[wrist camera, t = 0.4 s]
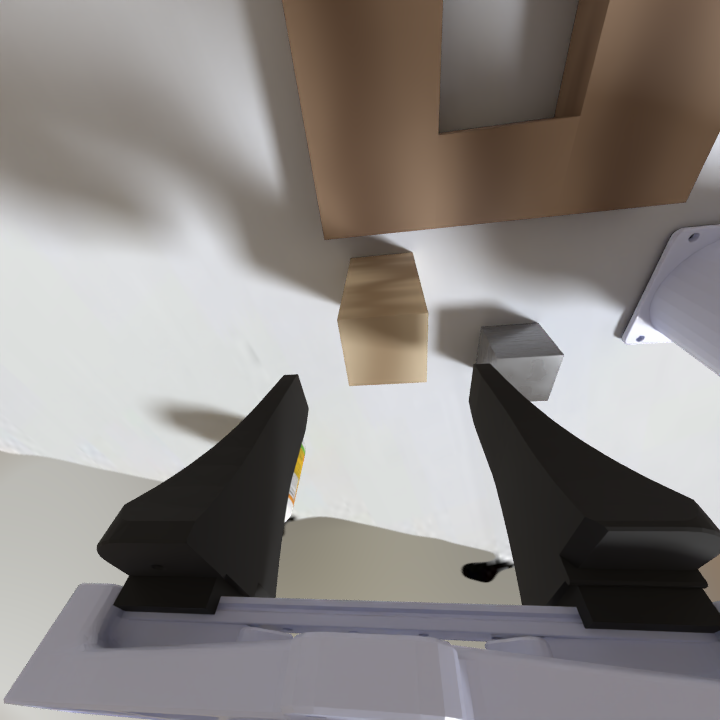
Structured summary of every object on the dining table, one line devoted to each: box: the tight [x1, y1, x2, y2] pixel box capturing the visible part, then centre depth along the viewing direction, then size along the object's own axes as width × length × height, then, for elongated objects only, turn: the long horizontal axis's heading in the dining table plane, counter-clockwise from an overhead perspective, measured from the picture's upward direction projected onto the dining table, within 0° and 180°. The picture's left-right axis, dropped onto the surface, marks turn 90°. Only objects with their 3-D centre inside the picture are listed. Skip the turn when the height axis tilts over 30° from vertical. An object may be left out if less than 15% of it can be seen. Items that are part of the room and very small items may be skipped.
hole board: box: [282, 0, 720, 240], centre depth 13 cm, size 18×14×2 cm
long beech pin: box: [337, 252, 428, 386], centre depth 18 cm, size 4×4×8 cm
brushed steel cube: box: [476, 323, 564, 401], centre depth 22 cm, size 4×4×4 cm
